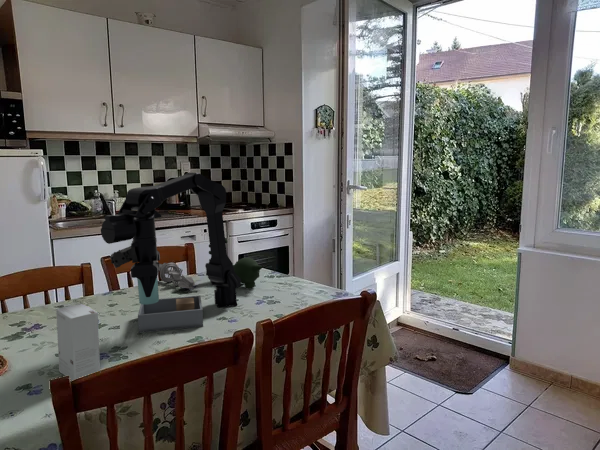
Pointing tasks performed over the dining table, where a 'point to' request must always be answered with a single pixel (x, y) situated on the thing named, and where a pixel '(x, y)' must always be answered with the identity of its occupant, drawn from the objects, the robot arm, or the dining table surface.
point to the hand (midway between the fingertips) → (148, 293)
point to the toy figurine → (246, 270)
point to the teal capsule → (152, 298)
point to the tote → (169, 315)
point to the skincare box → (78, 340)
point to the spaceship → (175, 275)
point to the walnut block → (184, 304)
